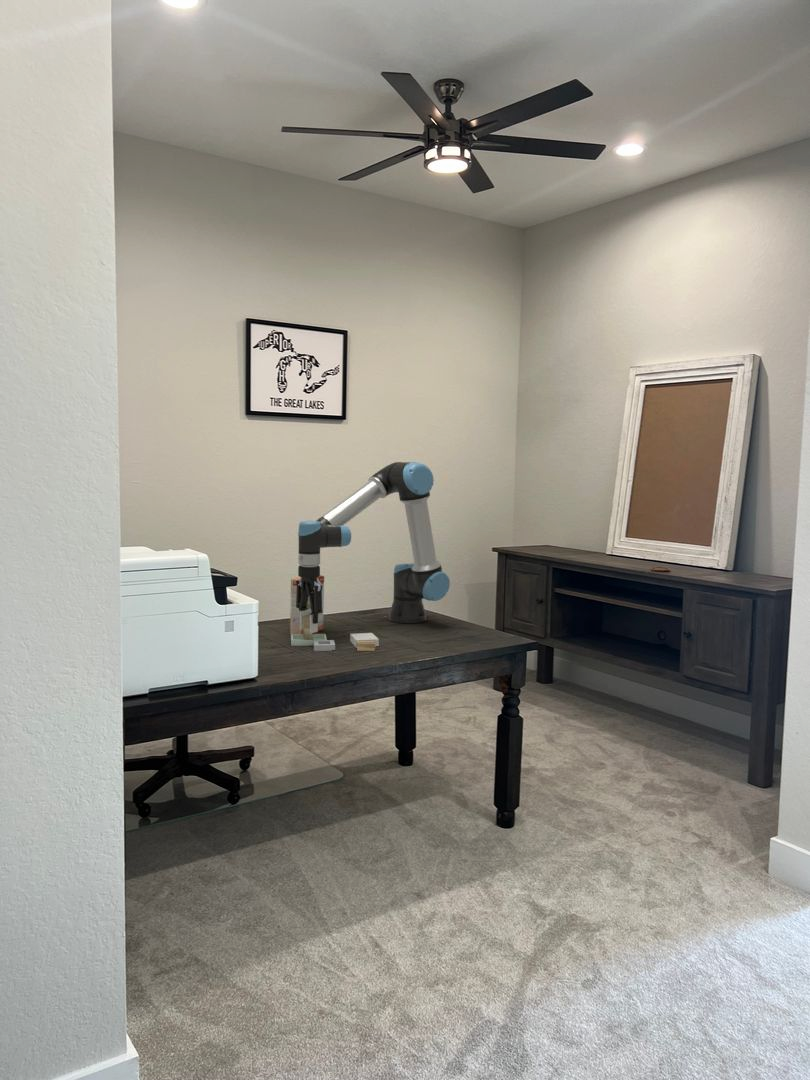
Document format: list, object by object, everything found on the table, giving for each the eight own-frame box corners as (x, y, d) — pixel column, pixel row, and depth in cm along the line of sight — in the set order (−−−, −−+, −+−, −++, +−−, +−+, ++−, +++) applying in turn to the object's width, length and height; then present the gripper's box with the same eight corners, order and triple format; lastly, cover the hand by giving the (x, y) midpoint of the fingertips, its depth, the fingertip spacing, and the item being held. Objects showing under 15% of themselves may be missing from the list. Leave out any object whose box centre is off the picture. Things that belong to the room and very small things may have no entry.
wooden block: (356, 648, 268) (356, 641, 268) (373, 647, 269) (373, 640, 269) (357, 651, 264) (357, 643, 264) (375, 650, 265) (375, 643, 265)
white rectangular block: (350, 642, 279) (350, 633, 278) (371, 641, 281) (371, 632, 281) (356, 648, 269) (356, 640, 269) (378, 647, 271) (378, 639, 271)
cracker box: (302, 637, 283) (303, 580, 280) (289, 635, 286) (289, 578, 283) (324, 630, 295) (325, 575, 293) (311, 628, 298) (311, 573, 296)
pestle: (302, 641, 275) (300, 615, 274) (309, 639, 277) (308, 614, 276) (307, 641, 272) (305, 616, 272) (314, 640, 274) (313, 615, 274)
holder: (313, 646, 270) (313, 640, 270) (333, 645, 271) (333, 640, 271) (314, 651, 263) (314, 645, 263) (335, 650, 264) (335, 644, 264)
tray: (290, 639, 278) (291, 634, 278) (325, 639, 280) (325, 633, 280) (291, 646, 269) (291, 640, 269) (326, 645, 271) (326, 639, 271)
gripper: (286, 562, 277) (285, 627, 279) (314, 569, 262) (314, 637, 264) (304, 561, 281) (303, 624, 284) (333, 567, 267) (332, 634, 269)
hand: (308, 630), depth 274 cm, fingers open, 6 cm apart
